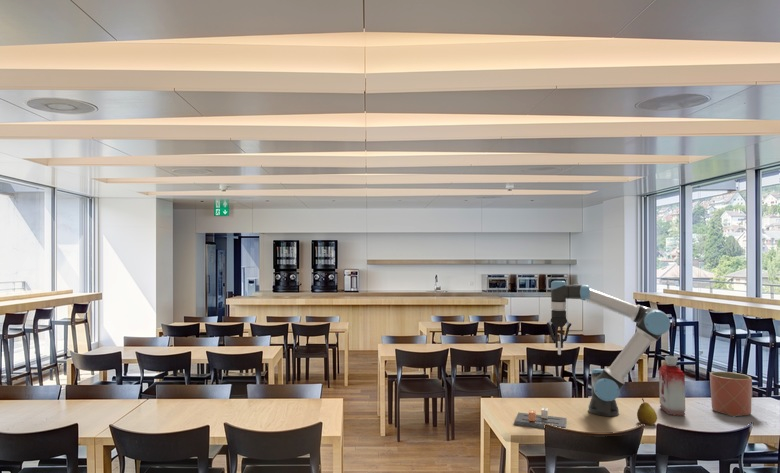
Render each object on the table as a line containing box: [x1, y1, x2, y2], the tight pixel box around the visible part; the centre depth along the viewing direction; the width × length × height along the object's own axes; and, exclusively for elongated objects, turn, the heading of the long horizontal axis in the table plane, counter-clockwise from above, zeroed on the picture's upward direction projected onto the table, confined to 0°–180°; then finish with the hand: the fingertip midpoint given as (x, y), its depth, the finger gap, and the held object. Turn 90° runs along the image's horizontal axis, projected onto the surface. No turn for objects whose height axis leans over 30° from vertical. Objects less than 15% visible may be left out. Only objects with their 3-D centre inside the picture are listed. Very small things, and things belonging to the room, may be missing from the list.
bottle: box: [658, 355, 686, 417], centre depth 275 cm, size 14×10×30 cm
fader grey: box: [540, 407, 549, 419], centre depth 257 cm, size 3×4×4 cm
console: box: [514, 412, 568, 429], centre depth 254 cm, size 24×15×2 cm, turn 69°
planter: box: [709, 371, 753, 417], centre depth 275 cm, size 19×19×20 cm
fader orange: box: [528, 410, 537, 421], centre depth 252 cm, size 3×4×4 cm
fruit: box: [636, 397, 658, 426], centre depth 255 cm, size 9×9×12 cm
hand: (559, 354), depth 269 cm, fingers closed
